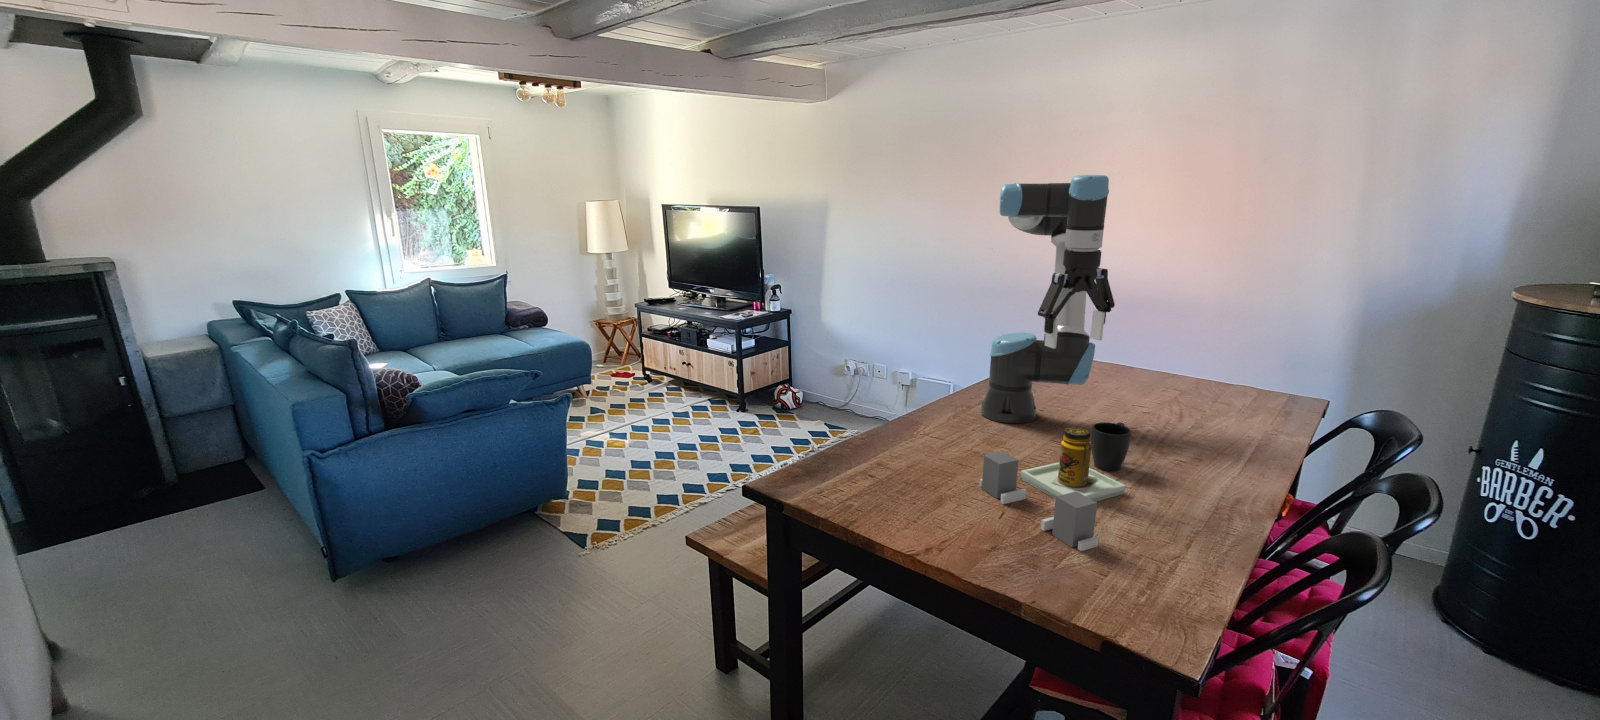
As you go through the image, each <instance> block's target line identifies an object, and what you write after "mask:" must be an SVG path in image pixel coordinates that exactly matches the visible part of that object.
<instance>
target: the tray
mask: <svg viewBox="0 0 1600 720" xmlns="http://www.w3.org/2000/svg"><path fill="white" fill-rule="evenodd" d="M1058 472H1059V461H1058V462H1054V463H1050V464H1045V465H1041V466H1036V467H1031V468H1028V469H1023V470H1020V477H1019V478H1020V480H1021V481H1023V482H1025V483H1027V484H1028V485H1029V486H1032V487H1034V488H1035V489H1037V490H1039V491H1040V492H1042V493H1044V494H1046V495H1047V496H1049V497H1050V498H1052V499H1054V500H1056V496H1060V495H1064V494H1068V493H1072V492H1076V491H1077V492H1078V493H1080V494H1082V495H1084V496H1086V497H1088V498H1089V499H1091V500H1093V501H1095V502H1098V501H1102V500H1103V501H1104V500H1107V499H1110V498H1114V497H1118V496H1122V495H1125V492H1126V484H1124V483H1121V482H1119V481H1117V480H1115V479H1113V478H1112V477H1109V476H1107V475H1105V474H1104V473H1101V472H1099V471H1097V470H1095V469H1092V468H1090V467H1089V474H1088V476H1091V477H1096V478H1097V479H1096V481H1095V482H1094V483H1093V484H1092V485H1091V486H1090V488H1089V489H1088V490H1087V491H1086V492H1084V491H1080V490H1076V489H1072V488H1067V487H1064V486H1060V485H1057V484H1054V483H1051V482H1052V481H1053V480H1054V479H1055V478H1057V477H1058Z"/></svg>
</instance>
